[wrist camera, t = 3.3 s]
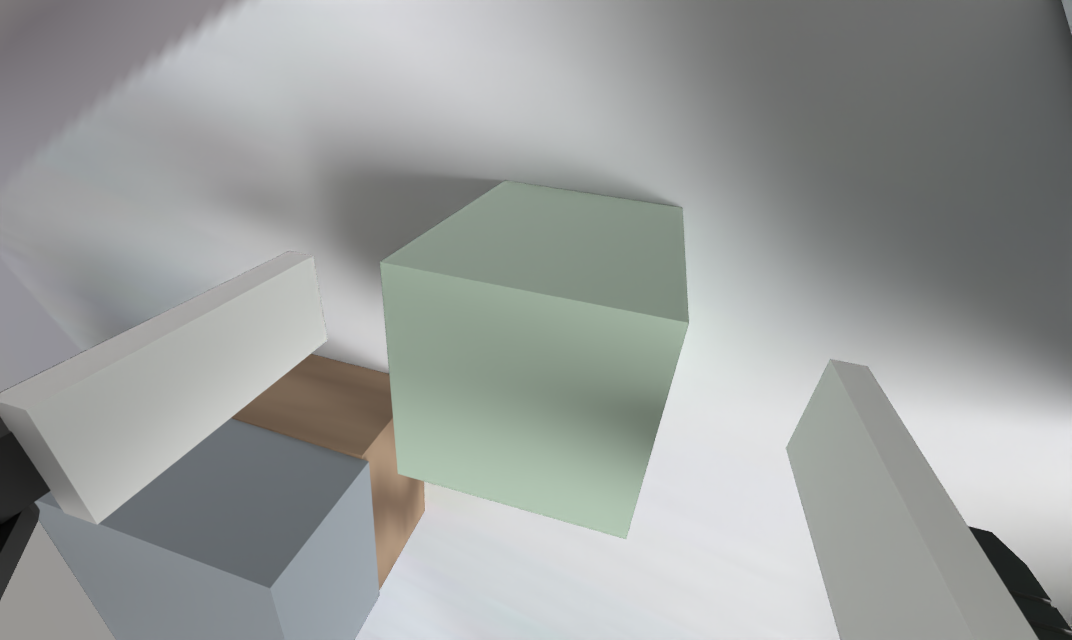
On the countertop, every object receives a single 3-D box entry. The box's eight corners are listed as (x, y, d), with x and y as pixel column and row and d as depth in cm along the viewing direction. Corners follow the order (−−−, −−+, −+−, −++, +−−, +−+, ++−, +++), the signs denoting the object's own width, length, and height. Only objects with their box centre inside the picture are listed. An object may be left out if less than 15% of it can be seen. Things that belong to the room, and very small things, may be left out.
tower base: (426, 507, 26) (378, 592, 22) (287, 464, 28) (217, 536, 23) (423, 379, 22) (361, 455, 17) (258, 337, 23) (164, 397, 19)
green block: (644, 360, 18) (625, 539, 11) (497, 328, 19) (397, 473, 12) (682, 207, 15) (688, 322, 8) (505, 180, 16) (379, 262, 9)
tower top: (379, 595, 22) (308, 721, 18) (218, 536, 23) (116, 640, 19) (369, 461, 17) (269, 588, 13) (169, 398, 19) (22, 495, 15)
